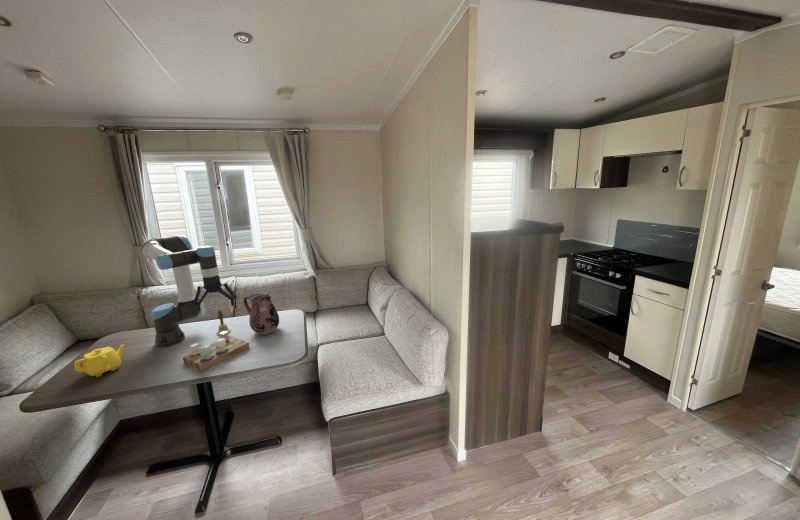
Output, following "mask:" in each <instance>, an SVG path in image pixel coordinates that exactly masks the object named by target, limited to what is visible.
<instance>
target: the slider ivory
mask: <svg viewBox="0 0 800 520" xmlns="http://www.w3.org/2000/svg"><path fill="white" fill-rule="evenodd" d="M199 348H200V345H199V343H197V342H194V343H193V344H191V345H189V350H190V353H192V355H197V354H199V353H200V351H199Z"/></svg>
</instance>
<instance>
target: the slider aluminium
mask: <svg viewBox="0 0 800 520" xmlns="http://www.w3.org/2000/svg"><path fill="white" fill-rule="evenodd" d="M228 336H229V334H228V332H226V331H223V332H221V333H220V337H219V339H220V338H225V340H226V341H227V340H229V337H228Z"/></svg>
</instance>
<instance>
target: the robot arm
mask: <svg viewBox="0 0 800 520" xmlns="http://www.w3.org/2000/svg"><path fill="white" fill-rule="evenodd" d="M140 252H141V254H142V256H143V257H144V258H146V259H147V260H148V259H149V260H153V261H155V263H156V266H157V268H158V269H159V270H161V271H163V270H170V269H172V273H173V276H174V280H175V284H176V289H177V293H178V298H177V300H176V301H177V303H176V304H174V303H172V302H168V303H164V304H161V305H158V306H156V307H155V308H153V309H152V310H151V312H150V314H151V315H150V316H151V320H152V324H153V327H154V331H155V336H154V337H155V338H154V346H155V347H156V348H169V347H171V346H174V345H178V344H180V343H182V342H183V341H184V340H185V339H186V334H185V333H184V331H183V330H182V329H181V327H180V325H179V323H183V322H185V321H189V320H192V319H196V318H199V317H200V316H202V317H205V316H206V314H207V313H206V309H205V308H206V307H205V302H204V300H205V298H206V297H207V296H208V294H213V293H214V294H215V293H219V294H222V295H223V296H224V297H225V298H227V299H228V304H229V310H230V313H234V312H233V311H234V306H235V299H237V298H238V296H237V294H236V293H235V292H234V291H233V290H232V287H231V286H229V283H228V282H227V281H225V282H224V283H221V278H220V274H219V268H218V263H217V258H216V256H217V255H216V251H215V248H214V246H212V245H203V246H202V245H201V246H198V247H196V248H193V246H192V244H191V241H190V239H189V238H188V237H187V236H186V235H185V234H179V235H177V234H174V235H170V236H169V235H168V236H163V237H161V236H160V237H155V238H151V239H148V240H147V241H146V242H144V243H143V244H142V245H141V248H140ZM195 264H199V267H200V272H201V276H202V282H203V285H198V286H197V287H196V290H197V291H196V290H195V287H194V282H193V277H192V273H191V269H190V265H195ZM222 287H223V288H225V290H224V289H223V288H222ZM203 289H204V290H205V292H204V293H203V295H201V293H202V290H203ZM195 291H196V292H195ZM200 295H201V297H200Z"/></svg>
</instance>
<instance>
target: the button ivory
mask: <svg viewBox="0 0 800 520" xmlns="http://www.w3.org/2000/svg"><path fill="white" fill-rule="evenodd" d="M214 342H215V346H216V349H223V348H225V347H226V346H227V345H226V340H225V338H220V337H219V338H216V339H215V340H214Z"/></svg>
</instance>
